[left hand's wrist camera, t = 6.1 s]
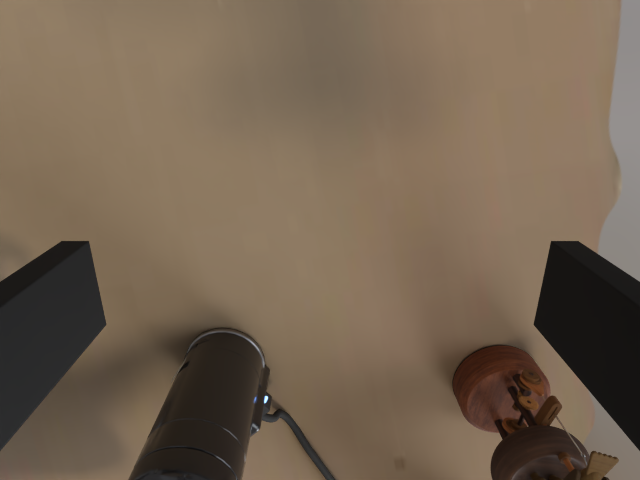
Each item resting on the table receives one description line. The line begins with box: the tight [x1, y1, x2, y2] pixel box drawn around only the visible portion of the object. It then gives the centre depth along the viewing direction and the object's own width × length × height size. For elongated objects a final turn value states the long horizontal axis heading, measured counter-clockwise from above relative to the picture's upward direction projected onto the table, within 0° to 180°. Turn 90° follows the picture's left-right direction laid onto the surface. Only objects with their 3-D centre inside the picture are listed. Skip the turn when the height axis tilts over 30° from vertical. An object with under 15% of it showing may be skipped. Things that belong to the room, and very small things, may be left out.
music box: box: [453, 346, 619, 480], centre depth 45 cm, size 15×11×20 cm
